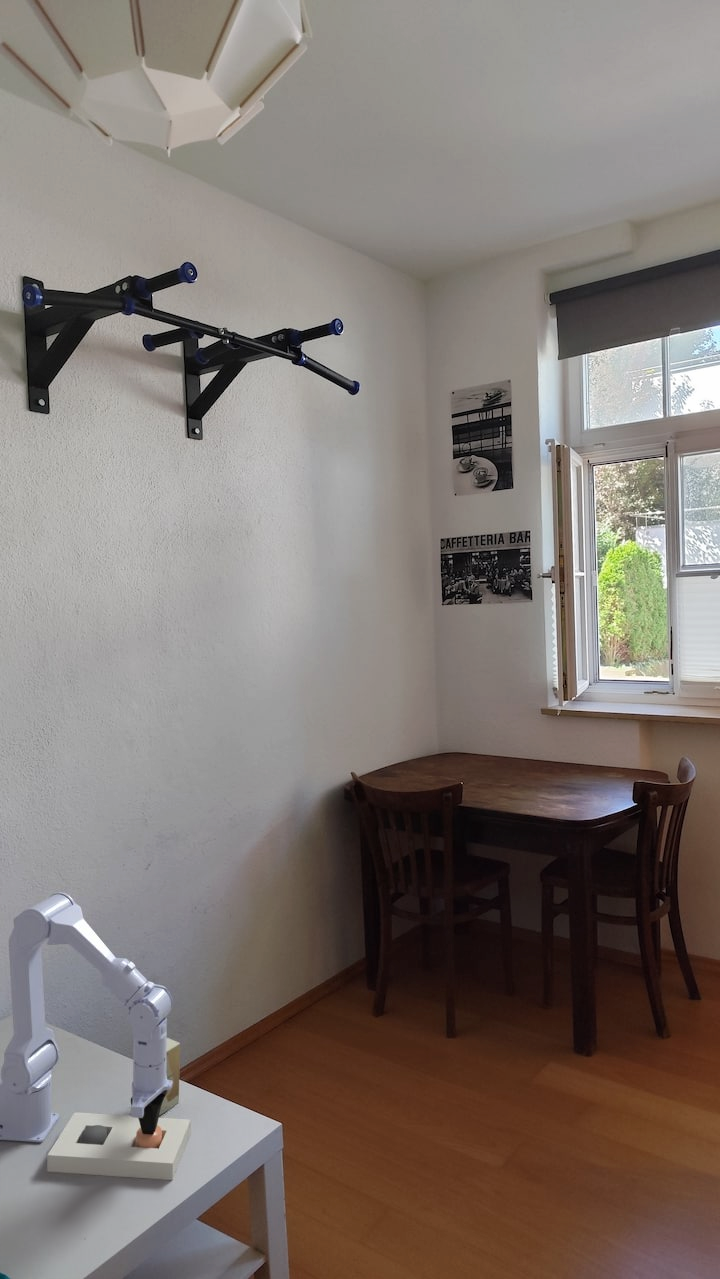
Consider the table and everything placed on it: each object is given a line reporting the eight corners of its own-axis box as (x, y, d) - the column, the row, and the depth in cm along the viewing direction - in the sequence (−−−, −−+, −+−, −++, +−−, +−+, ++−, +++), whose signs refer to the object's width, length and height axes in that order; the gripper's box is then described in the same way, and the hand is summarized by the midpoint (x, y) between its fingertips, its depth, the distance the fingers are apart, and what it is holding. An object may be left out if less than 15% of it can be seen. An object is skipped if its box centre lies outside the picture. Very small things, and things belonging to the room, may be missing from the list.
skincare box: (156, 1118, 163) (157, 1057, 162) (140, 1110, 165) (141, 1049, 165) (180, 1102, 169) (181, 1042, 168) (164, 1094, 171) (165, 1035, 170)
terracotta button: (132, 1155, 151) (133, 1139, 151) (140, 1139, 155) (140, 1123, 155) (157, 1157, 150) (157, 1140, 150) (164, 1141, 155) (164, 1125, 155)
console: (47, 1171, 148) (47, 1154, 148) (74, 1127, 160) (74, 1112, 160) (172, 1180, 147) (172, 1163, 146) (190, 1135, 159) (190, 1119, 158)
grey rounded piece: (77, 1156, 151) (77, 1140, 151) (86, 1140, 156) (86, 1124, 156) (101, 1157, 151) (101, 1141, 151) (110, 1141, 156) (110, 1125, 155)
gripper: (160, 1083, 144) (159, 1160, 145) (183, 1038, 159) (181, 1108, 160) (119, 1080, 145) (118, 1157, 146) (145, 1035, 159) (144, 1105, 160)
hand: (149, 1131), depth 153 cm, fingers closed
